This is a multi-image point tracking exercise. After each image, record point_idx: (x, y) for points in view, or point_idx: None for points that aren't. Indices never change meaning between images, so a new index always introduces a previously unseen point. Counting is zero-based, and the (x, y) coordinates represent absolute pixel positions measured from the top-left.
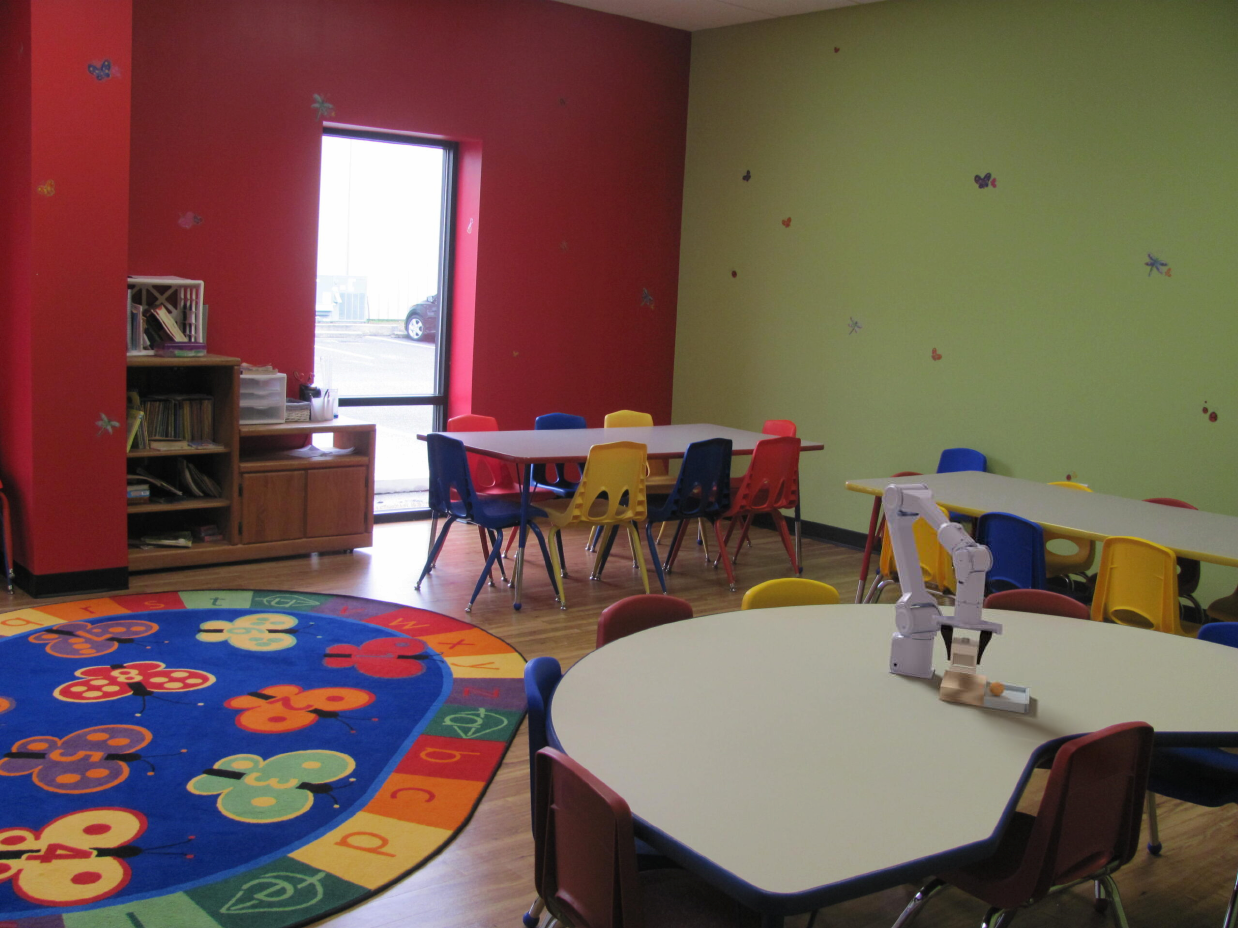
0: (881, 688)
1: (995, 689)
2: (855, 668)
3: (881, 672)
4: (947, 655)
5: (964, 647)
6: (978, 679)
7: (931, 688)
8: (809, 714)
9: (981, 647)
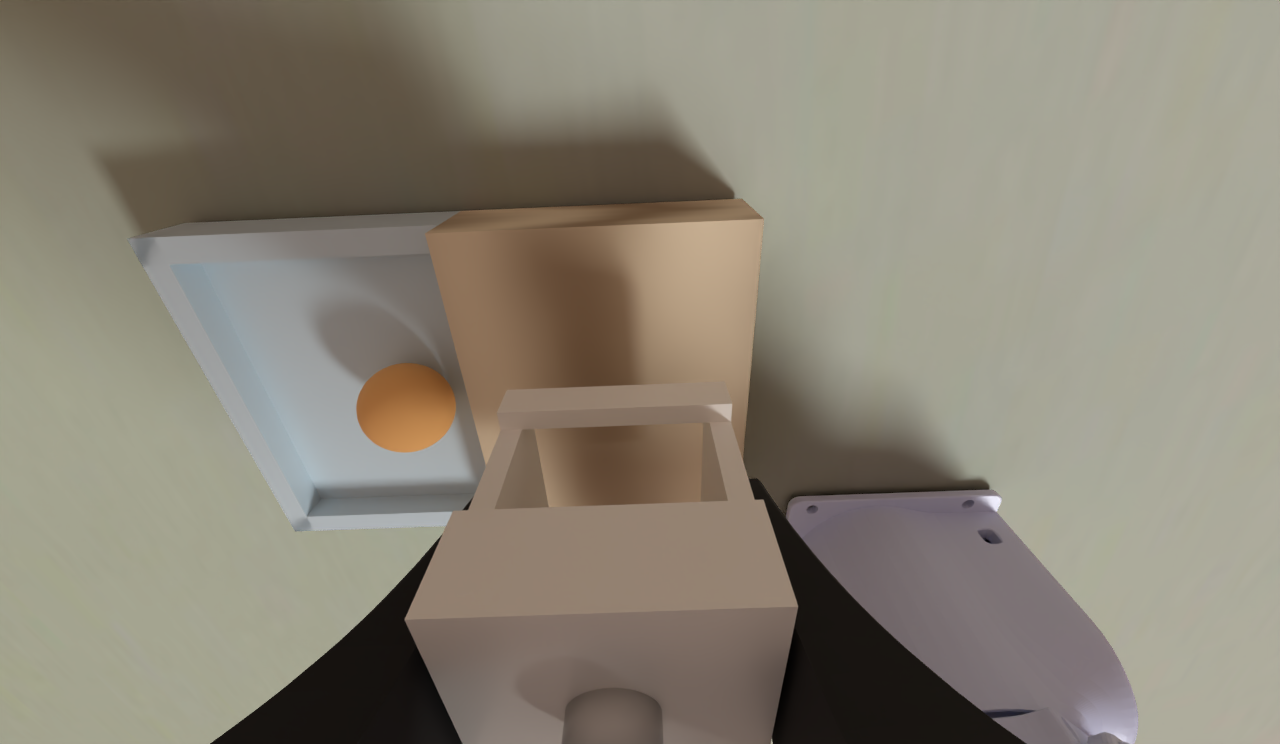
0: (1107, 232)
1: (400, 372)
2: (1164, 476)
3: (1031, 482)
4: (776, 506)
5: (601, 580)
6: None
7: (786, 383)
8: None
9: (380, 643)
